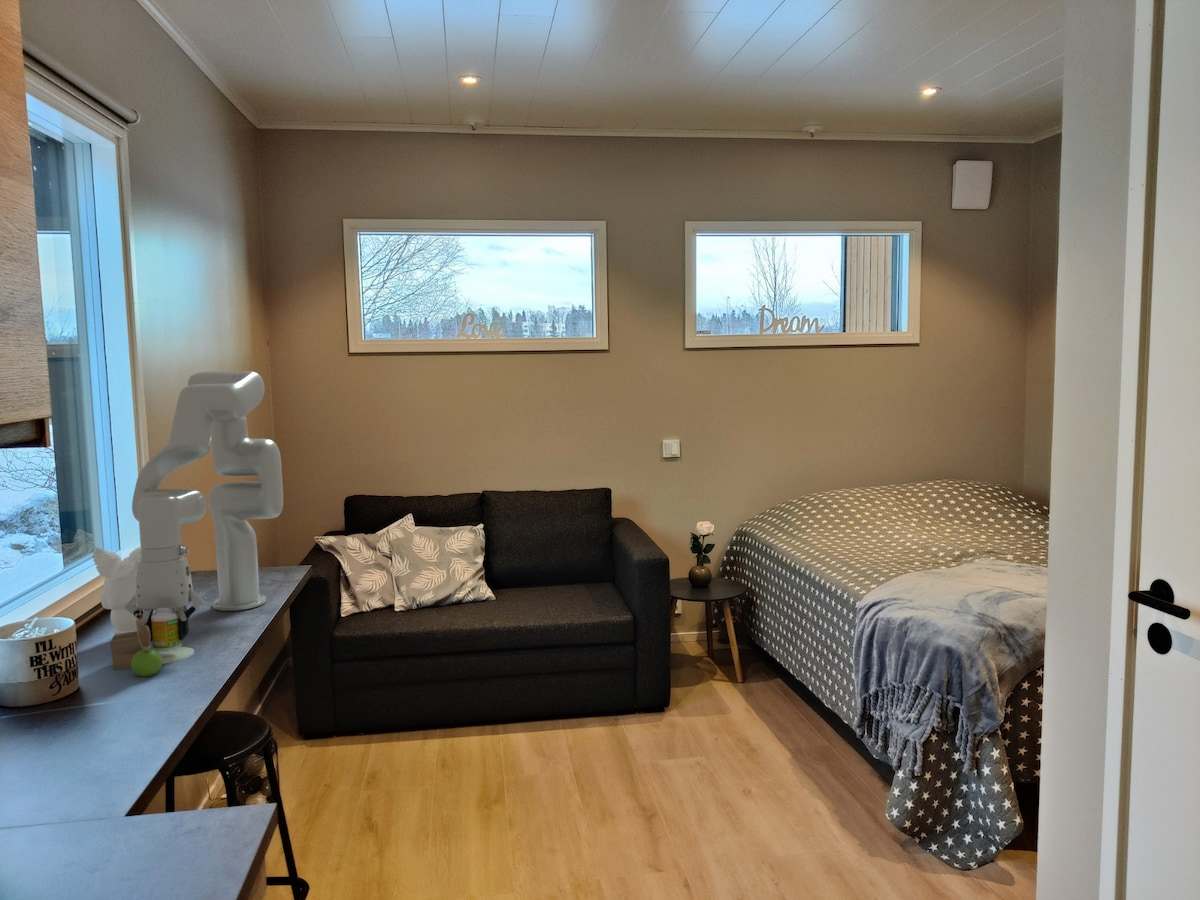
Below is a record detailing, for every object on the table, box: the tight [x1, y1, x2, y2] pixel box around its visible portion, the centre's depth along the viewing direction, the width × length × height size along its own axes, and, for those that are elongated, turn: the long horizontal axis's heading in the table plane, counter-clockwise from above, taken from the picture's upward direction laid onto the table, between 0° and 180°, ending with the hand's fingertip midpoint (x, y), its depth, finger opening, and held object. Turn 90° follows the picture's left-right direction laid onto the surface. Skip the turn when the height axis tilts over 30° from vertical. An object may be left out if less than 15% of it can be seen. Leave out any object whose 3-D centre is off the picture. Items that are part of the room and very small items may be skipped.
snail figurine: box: [130, 613, 163, 678], centre depth 164 cm, size 5×6×12 cm
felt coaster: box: [158, 646, 195, 665], centre depth 175 cm, size 10×10×1 cm
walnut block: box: [110, 631, 142, 671], centre depth 169 cm, size 5×5×6 cm
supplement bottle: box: [151, 608, 183, 651], centre depth 174 cm, size 5×5×10 cm
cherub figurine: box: [91, 546, 144, 641], centre depth 183 cm, size 12×12×22 cm
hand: (167, 638), depth 174 cm, fingers closed on supplement bottle, 5 cm apart
